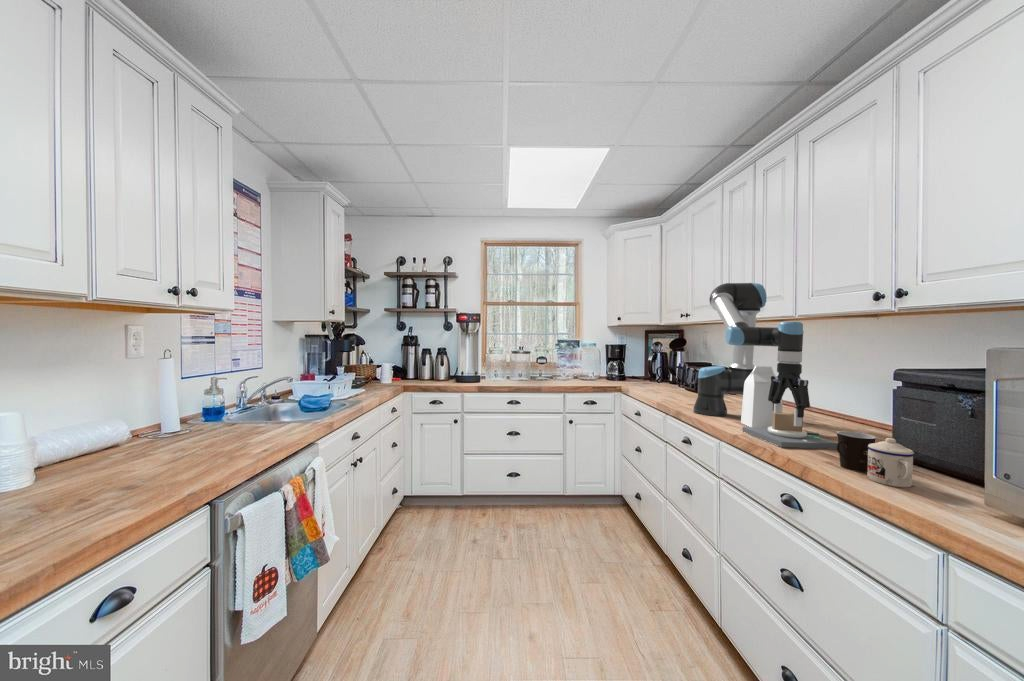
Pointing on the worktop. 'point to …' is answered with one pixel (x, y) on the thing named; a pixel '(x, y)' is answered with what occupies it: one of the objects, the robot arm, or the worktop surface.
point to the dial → (787, 426)
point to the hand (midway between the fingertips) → (787, 423)
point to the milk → (758, 398)
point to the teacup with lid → (890, 463)
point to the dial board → (790, 439)
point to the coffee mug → (854, 450)
